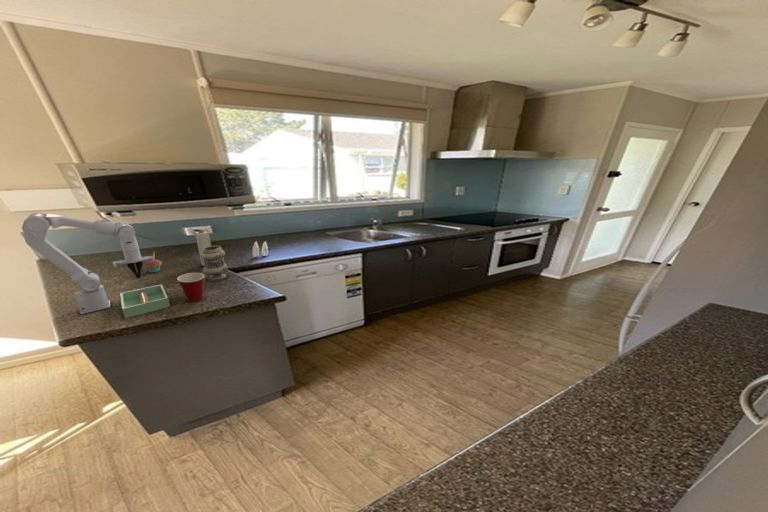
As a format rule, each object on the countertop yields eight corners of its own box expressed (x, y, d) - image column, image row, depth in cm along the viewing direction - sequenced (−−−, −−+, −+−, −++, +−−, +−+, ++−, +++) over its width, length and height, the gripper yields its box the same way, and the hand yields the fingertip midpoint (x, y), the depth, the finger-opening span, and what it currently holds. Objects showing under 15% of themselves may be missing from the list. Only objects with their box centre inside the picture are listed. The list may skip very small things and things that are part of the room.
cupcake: (162, 267, 175) (157, 248, 171) (164, 271, 169) (159, 252, 165) (144, 270, 169) (139, 251, 165) (146, 275, 163) (140, 255, 159)
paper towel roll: (200, 264, 181) (193, 231, 175) (210, 262, 186) (204, 230, 179) (204, 267, 177) (197, 233, 170) (214, 265, 181) (208, 232, 174)
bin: (124, 318, 120) (122, 309, 118) (122, 301, 133) (120, 293, 132) (170, 306, 130) (168, 297, 128) (163, 292, 143) (161, 284, 142)
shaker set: (254, 259, 192) (252, 243, 188) (250, 258, 194) (248, 242, 191) (270, 255, 201) (268, 239, 198) (266, 253, 203) (264, 238, 200)
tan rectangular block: (143, 309, 125) (135, 293, 124) (144, 307, 137) (137, 292, 136) (151, 306, 127) (144, 290, 126) (152, 305, 139) (145, 290, 138)
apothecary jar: (206, 275, 165) (201, 245, 159) (230, 272, 170) (225, 243, 164) (203, 283, 154) (197, 251, 149) (228, 280, 159) (223, 249, 153)
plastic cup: (201, 304, 132) (196, 280, 129) (177, 304, 131) (171, 281, 128) (213, 294, 143) (208, 271, 139) (190, 294, 142) (185, 272, 138)
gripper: (150, 245, 138) (156, 271, 143) (109, 251, 129) (118, 278, 133) (151, 248, 134) (158, 275, 138) (109, 255, 124) (118, 283, 129)
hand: (138, 277), depth 135 cm, fingers closed
